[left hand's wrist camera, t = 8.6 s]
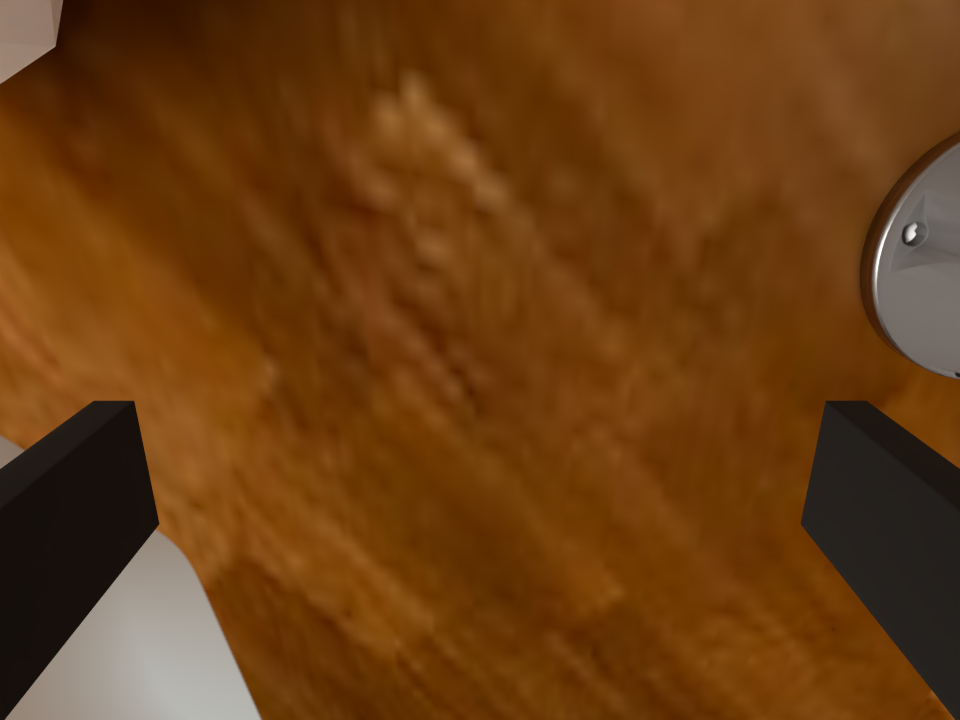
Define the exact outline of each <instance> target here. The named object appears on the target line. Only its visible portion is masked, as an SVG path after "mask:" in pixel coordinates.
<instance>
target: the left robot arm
mask: <svg viewBox="0 0 960 720" xmlns="http://www.w3.org/2000/svg"><path fill="white" fill-rule="evenodd" d="M158 525H159V520H158V515H157V510H156V505H155V500H154V495H153V491H152V486H151V481H150V476H149V471H148V466H147V461H146V456H145V452H144V447H143V442H142V437H141V432H140V427H139V422H138V417H137V412H136V408H135V403H134V401H93V402H91V403H90V404H89V405H87V406H86V407H85V408H83V409H82V410H81V411H79V412H78V413H76V414H75V415H74V416H72V417H71V418H70V419H68V420H67V421H65V422H64V423H63V424H61V425H60V426H59V427H57V428H56V429H55V430H53V431H52V432H50V433H49V434H48V435H46V436H45V437H44V438H42V439H41V440H39V441H38V442H37V443H35V444H34V445H33V446H31V447H30V448H29V449H27V450H26V451H24V452H23V453H22V454H20V455H19V456H18V457H16V458H15V459H13V460H12V461H11V462H9V463H8V464H7V465H5V466H4V467H3V468H1V469H0V720H5V719H6V717H7V716H8V715H9V713H10V712H11V711H12V710H13V708H14V707H15V706H16V705H17V703H18V702H19V701H20V700H21V698H22V697H23V696H24V695H25V693H26V692H27V691H28V689H29V688H30V687H31V686H32V684H33V683H34V682H35V681H36V679H37V678H38V677H39V676H40V674H41V673H42V672H43V671H44V669H45V668H46V667H47V665H48V664H49V663H50V662H51V660H52V659H53V658H54V657H55V655H56V654H57V653H58V652H59V650H60V649H61V648H62V646H63V645H64V644H65V643H66V641H67V640H68V639H69V638H70V636H71V635H72V634H73V632H74V631H75V630H76V629H77V628H78V626H79V625H80V624H81V622H82V621H83V620H84V619H85V617H86V616H87V615H88V614H89V612H90V611H91V610H92V609H93V607H94V606H95V605H96V604H97V602H98V601H99V600H100V598H101V597H102V596H103V595H104V593H105V592H106V591H107V590H108V588H109V587H110V586H111V585H112V583H113V582H114V581H115V580H116V578H117V577H118V576H119V574H120V573H121V572H122V571H123V569H124V568H125V567H126V566H127V564H128V563H129V562H130V561H131V559H132V558H133V557H134V555H135V554H136V553H137V552H138V550H139V549H140V548H141V547H142V545H143V544H144V543H145V541H146V540H147V539H148V538H149V537H150V535H151V534H152V533H153V531H154V530H155V529H156V528H157V526H158ZM801 525H802V526H803V528H804V529H805V530H806V531H807V533H808V534H809V535H810V537H811V538H812V539H813V540H814V542H815V543H816V544H817V545H818V547H819V548H820V549H821V550H822V552H823V553H824V554H825V555H826V557H827V558H828V559H829V561H830V562H831V563H832V564H833V566H834V567H835V568H836V569H837V571H838V572H839V573H840V574H841V576H842V577H843V578H844V580H845V581H846V582H847V583H848V585H849V586H850V587H851V588H852V590H853V591H854V592H855V593H856V595H857V596H858V597H859V598H860V600H861V601H862V602H863V604H864V605H865V606H866V607H867V609H868V610H869V611H870V612H871V614H872V615H873V616H874V617H875V619H876V620H877V621H878V622H879V624H880V625H881V626H882V628H883V629H884V630H885V631H886V633H887V634H888V635H889V636H890V638H891V639H892V640H893V641H894V643H895V644H896V645H897V646H898V648H899V649H900V650H901V652H902V653H903V654H904V655H905V657H906V658H907V659H908V660H909V662H910V663H911V664H912V665H913V667H914V668H915V669H916V671H917V672H918V673H919V674H920V676H921V677H922V678H923V679H924V681H925V682H926V683H927V684H928V686H929V687H930V688H931V689H932V691H933V692H934V693H935V695H936V696H937V697H938V698H939V700H940V701H941V702H942V703H943V705H944V706H945V707H946V708H947V710H948V711H949V712H950V713H951V715H952V716H953V717H954V719H955V720H960V469H959V468H958V467H956V466H955V465H953V464H952V463H951V462H949V461H948V460H947V459H945V458H944V457H942V456H941V455H940V454H938V453H937V452H936V451H934V450H933V449H931V448H930V447H929V446H927V445H926V444H925V443H923V442H922V441H921V440H919V439H918V438H916V437H915V436H914V435H912V434H911V433H910V432H908V431H907V430H905V429H904V428H903V427H901V426H900V425H899V424H897V423H896V422H895V421H893V420H892V419H890V418H889V417H888V416H886V415H885V414H884V413H882V412H881V411H879V410H878V409H877V408H875V407H874V406H873V405H871V404H870V403H868V402H867V401H826V403H825V408H824V412H823V417H822V422H821V427H820V432H819V437H818V442H817V447H816V452H815V456H814V461H813V466H812V471H811V476H810V481H809V486H808V491H807V495H806V500H805V505H804V510H803V515H802V520H801Z"/></svg>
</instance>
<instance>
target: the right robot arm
mask: <svg viewBox="0 0 960 720" xmlns="http://www.w3.org/2000/svg"><path fill="white" fill-rule="evenodd" d="M860 288H861V296H862V300H863V304H864V308H865V311H866V313H867V316H868V318H869V320H870V322H871V324H872V326H873V328H874V329H875V331H876V332H877V334H878V335H879V336H880V337H881V338H882V340H883V341H884V342H885V343H886V344H887V345H888V346H889V347H891V348H892V349H893V350H894V351H896V352H897V353H898V354H900V355H901V356H903V357H905V358H907V359H908V360H910V361H912V362H914V363H915V364H917V365H919V366H921V367H923V368H925V369H926V370H928V371H931V372H933V373H936V374H939V375H942V376H946V377H950V378H955V379H960V132H959V133H957V134H955V135H953V136H951V137H949V138H948V139H946V140H945V141H943V142H941V143H940V144H938V145H937V146H935V147H934V148H933V149H931V150H930V151H929V152H927V153H926V154H925V155H924V156H922V157H921V158H920V159H919V160H918V161H917V162H916V163H914V164H913V165H912V166H911V167H910V168H909V169H908V170H907V171H906V172H905V173H904V174H903V176H902V177H901V178H900V179H899V180H898V182H897V183H896V184H895V185H894V186H893V188H892V189H891V191H890V192H889V193H888V195H887V196H886V198H885V199H884V201H883V203H882V204H881V206H880V208H879V209H878V211H877V213H876V215H875V217H874V219H873V221H872V223H871V226H870V229H869V231H868V234H867V237H866V240H865V244H864V247H863V252H862V258H861V266H860Z"/></svg>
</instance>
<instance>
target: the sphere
mask: <svg viewBox="0 0 960 720" xmlns="http://www.w3.org/2000/svg"><path fill="white" fill-rule="evenodd" d="M62 4H63V0H0V84H1V83H3V82H4V81H5V80H7V79H8V78H10V77H11V76H13V75H14V74H16V73H17V72H19V71H20V70H22V69H23V68H25V67H26V66H28V65H29V64H31V63H32V62H33V61H35V60H36V59H38V58H39V57H41V56H42V55H44V54H45V53H47V52H48V51H50V50H51V49H53V48H54V47H55V46H56V40H57V34H58V28H59V22H60V16H61V10H62Z"/></svg>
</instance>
